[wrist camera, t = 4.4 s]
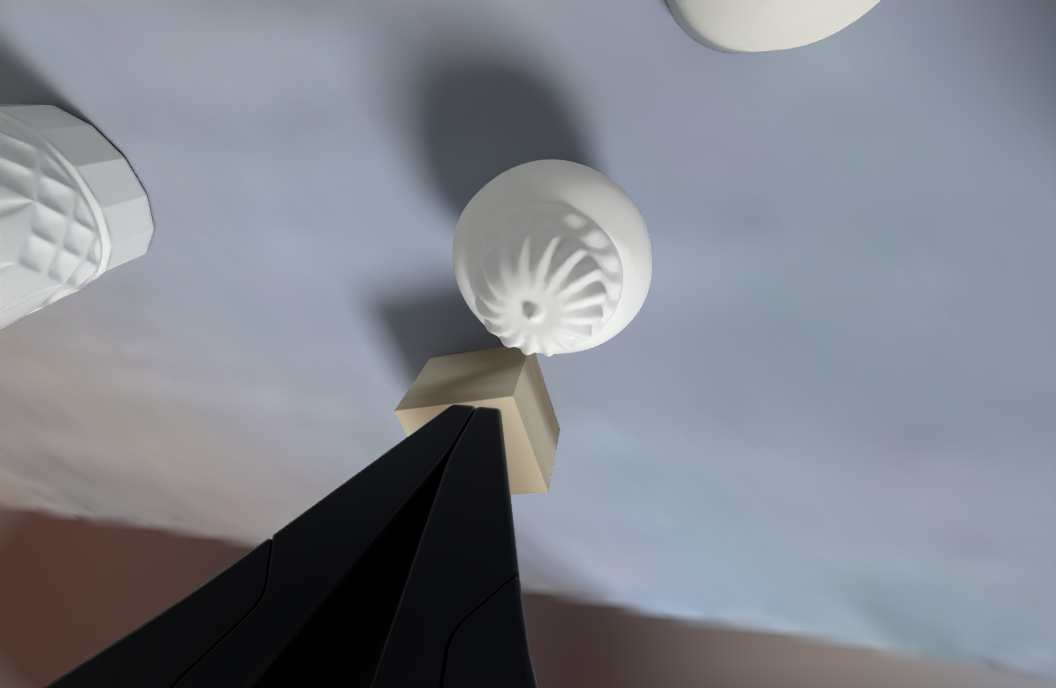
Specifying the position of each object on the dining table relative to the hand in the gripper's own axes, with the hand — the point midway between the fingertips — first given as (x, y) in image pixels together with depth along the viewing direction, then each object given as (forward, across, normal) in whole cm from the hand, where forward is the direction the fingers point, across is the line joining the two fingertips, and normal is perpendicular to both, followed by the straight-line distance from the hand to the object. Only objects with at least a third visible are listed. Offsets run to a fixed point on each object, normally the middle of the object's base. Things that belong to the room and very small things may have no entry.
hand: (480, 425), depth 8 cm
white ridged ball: (+11, 0, 0) cm, 11 cm away
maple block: (+11, +3, +8) cm, 14 cm away
